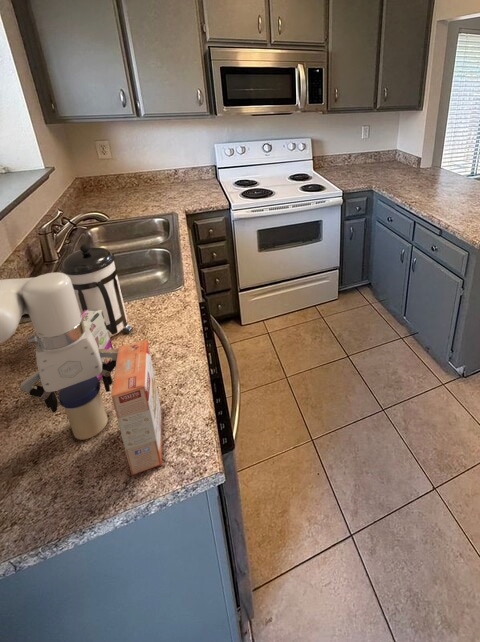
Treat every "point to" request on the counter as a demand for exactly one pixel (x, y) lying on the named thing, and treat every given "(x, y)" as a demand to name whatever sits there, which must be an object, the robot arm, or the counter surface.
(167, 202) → the counter surface
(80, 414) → the jar
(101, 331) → the candy bar box
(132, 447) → the cracker box
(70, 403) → the jar lid
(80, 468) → the counter surface
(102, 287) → the coffee press
